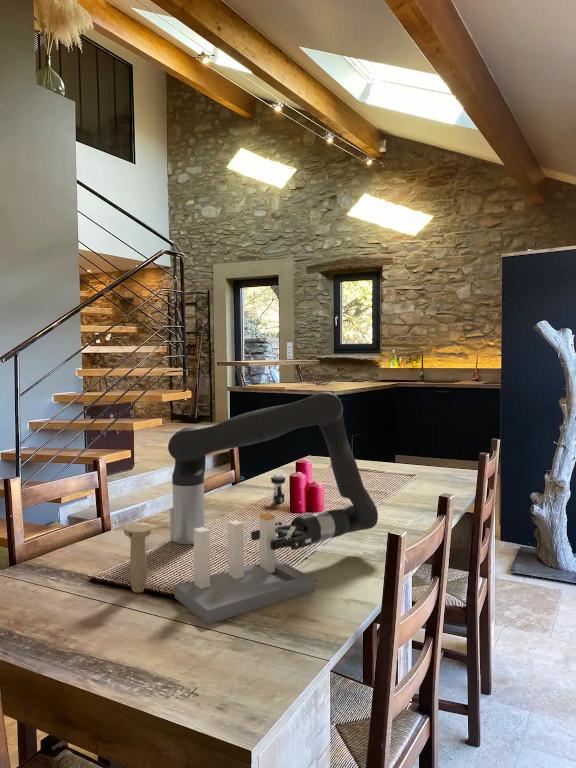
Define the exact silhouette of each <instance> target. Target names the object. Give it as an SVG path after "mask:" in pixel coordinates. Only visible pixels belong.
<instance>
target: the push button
mask: <svg viewBox="0 0 576 768" xmlns="http://www.w3.org/2000/svg"><path fill="white" fill-rule="evenodd" d="M270 481H271V483H272V484H273V485H274V491H273V496H272V500H271V502H272V503H271V504H272V505H273V504H274V505H275V504H276V505H278V504H281V503H284V502H285V494H284V493H283V492H282V491H283V489H282V487H283V486H282V485H283V484H285V482H286V477H285V476H284V475H283V474H281V473H280V474H279V473H277V474H273V475H272V477H270Z"/></svg>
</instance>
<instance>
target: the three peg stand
mask: <svg viewBox="0 0 576 768" xmlns="http://www.w3.org/2000/svg"><path fill="white" fill-rule="evenodd" d="M227 534H228V535H227V540H228V541H227V544H228V545H227V549H228V551H227V552H228V553H227V554H228V555H227V556H228V557H227V558H228V570H225V571H222V572H217V573H215V574H211V567H210V566H211V562H210V561H211V559H210V557H211V553H210V552H211V548H210V546H211V545H210V543H211V542H210V529H208V528H204V527H200V528H195V529H194V544H193V566H194V569H193V572H194V578H193V579H192V580H188V581H184V582H180V583H175V584H174V599H176V600H177V601H178V602H180V603H181V604H182V605H183V606H185V608H187V609H188V610H190V611H191V612H192V613H193V614H194V615H196V616H197V617H198V618H199V619H200V620H201V621H202V622H204V623H206V625H212V624H214V623H217V622H221V621H224V620H226V619H231V618H234V617H235V616H240V615H242V614H245V613H248V612H251V611H255V610H257V609H261V608H263V607H268V606H270V605H273V604H276V603H280V602H282V601H286V600H290V599H292V598H295V597H298V596H301V595H305V594H308V593H311V592H313V591H314V590H315V578H314V577H312V576H310V575H309V574H307V573H305V572H303V571H301V570H299V569H297V568H295V567H293V566H291V565H289V564H287V563H286V562H283V561H281V560H280V559H277V558H276V557H275V572H273V573H269V572H267V571H265V570H263V569H262V568H260V561H258V562H256V563H252V564H247V565H244V564H245V563H244V561H245V557H244V556H245V555H244V551H245V550H244V544H245V543H244V542H245V541H244V522H242V521H240V520H238V519H235V520H229V521H228V522H227Z"/></svg>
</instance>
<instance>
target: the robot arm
mask: <svg viewBox="0 0 576 768" xmlns="http://www.w3.org/2000/svg"><path fill="white" fill-rule="evenodd" d="M343 413H344V406H343V403H342V401H341V399H340V398H339V397H338V395H336V394H335V393H333V392H329V391H322V392H318V393H316V394H314V395H310V396H309V397H306V398H303V399H301V400H297V401H294V402H291V403H287V404H280V405H274V406H269V407H266V408H265V407H264V408H260V409H257V410H253V411H249V412H245V413H242V414H241V413H240V414H239V415H236V416H233V417H230V418H228V419H226V420H224V421H221V422H219V423H217V424H214V425H211V426H207V427H206V426H205V427H202V428H196V427H191V426H189V427H184V428H181V429H180V430H179V431H178V430H177V432H175V433H174V434H173V435H172V436H171V437H170V439H169V441H168V445H167V449H168V450H167V451H168V452H169V454H170V457H172V458H173V459H174V468H173V472H172V475H171V476H172V477H171V480H172V481H171V484H172V486H171V487H172V491H171V492H172V508H170V510H169V513H170V514H169V526H170V527H169V529H170V533H169V535H170V542H172V543H175V544H178V545H194V529H195V528H200V527H204V528H205V525H206V524H205V472H206V460H207V457H206V455H210V454H212V453H215V452H218V451H224V450H230V449H236V448H241V447H245V446H250V445H254V444H258V443H259V444H260V443H262V442H267V441H269V440H272V439H275V438H278V437H280V436H283V435H284V434H286V433H290V432H291V431H294V430H297V429H300V428H305V427H306V428H307V427H311V426H317V425H318V426H319V428H320V431H321V433H322V435H323V438H324V440H325V443H326V445H327V449H328V453H329V460H330V464H331V465H330V466H331V469H332V473H333V476H334V480H335V482H336V485H337V489H338V493H339V495H340V496H341V498H344V499H348V500H350V502H351V503H352V505H349V506H345V507H342V508H338V509H337V508H336V509H330V510H326V511H318V512H313V513H309V514H302V515H299V516H296V517H294V518H293V520H292V521H291V523H285V524H283V521H276V522H275V540H271V542H270V549H272V550H275V551H276V550H279V549H282V548H283V549H291V550H294V551H295V550H298V549H301V548H305V547H309V546H311V545H313V544H314V545H315V544H317V543H321V542H326V541H328V540H329V539H332V538H336V537H340V536H343V535H345V534H348V533H353V532H357V531H365V530H370V529H372V528H374V527H375V526H376V525H377V523H378V520H379V514H378V508H377V506H376V505H375V502H374V501H373V499H372V498H371V496H370V494H369V493H368V490H367V489H366V488H365V486H364V483H363V480H362V476H361V474H360V470H359V466H358V465H357V461H356V459H355V457H354V454H353V450H352V448H351V446H350V443H349V439H348V435H347V433H346V431H347V430H346V428H345V427H346V426H345V420H344V414H343ZM276 534H277V535H276ZM250 537H251V538H250V539H251V540H252V541H257V540H258V541H259V540H260V529H256V530H252V531H251V532H250Z"/></svg>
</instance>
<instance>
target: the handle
mask: <svg viewBox="0 0 576 768" xmlns="http://www.w3.org/2000/svg"><path fill="white" fill-rule="evenodd" d="M123 533H124V535H125V536H127V537H128V538H129V539H130V540H129V541H130V552H129V553H130V554H129V576H130V577H129V578H130V584H131V585H130V586H131V591H133V593H143V592H144V588H146V589H147V584H146V583H147V579H148V563H147V562H148V561H147V552H146V551H147V548H146V538H147V537H148V536H150V535H151V534H152V527H151V526H149V525H143V524H131V525H127V526H125V527H123Z"/></svg>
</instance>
